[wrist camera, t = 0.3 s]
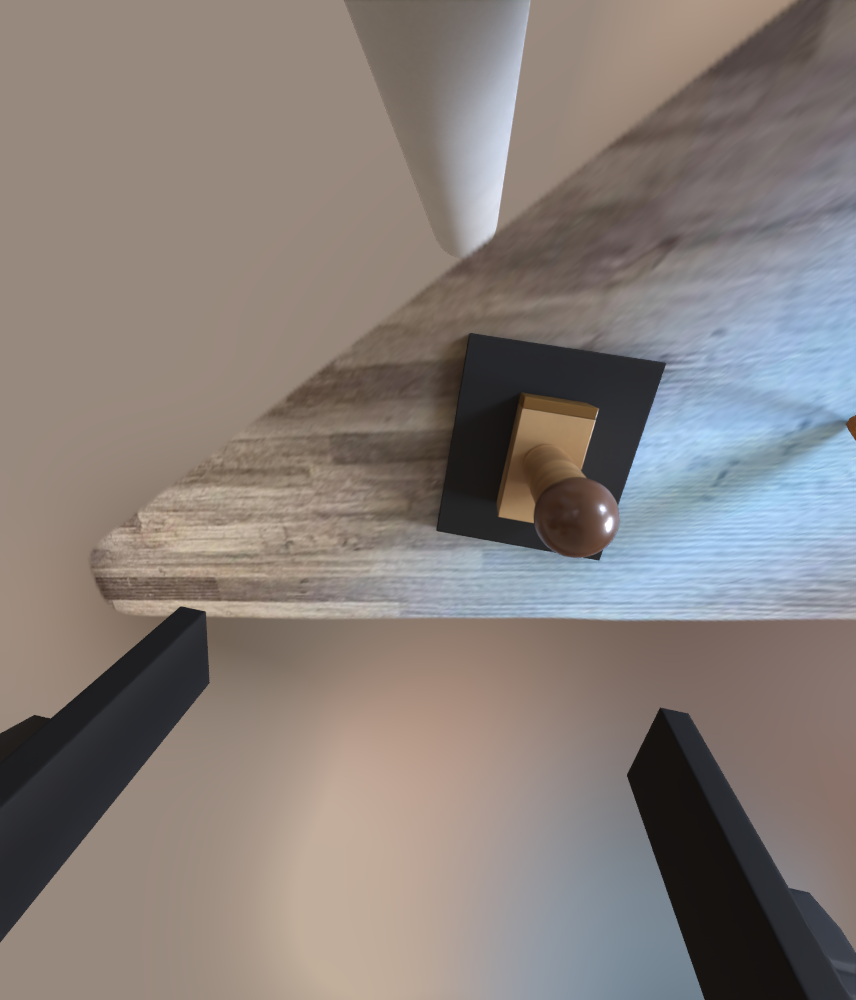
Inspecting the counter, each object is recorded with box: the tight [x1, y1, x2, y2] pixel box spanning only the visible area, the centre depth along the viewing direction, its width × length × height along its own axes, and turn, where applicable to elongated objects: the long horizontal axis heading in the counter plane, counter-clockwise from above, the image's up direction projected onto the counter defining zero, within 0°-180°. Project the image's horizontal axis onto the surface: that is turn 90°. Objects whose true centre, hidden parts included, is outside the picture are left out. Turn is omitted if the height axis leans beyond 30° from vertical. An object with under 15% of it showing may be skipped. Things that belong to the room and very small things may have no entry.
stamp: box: [497, 393, 620, 558], centre depth 25 cm, size 9×5×14 cm, turn 172°
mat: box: [437, 333, 666, 560], centre depth 32 cm, size 16×14×1 cm
